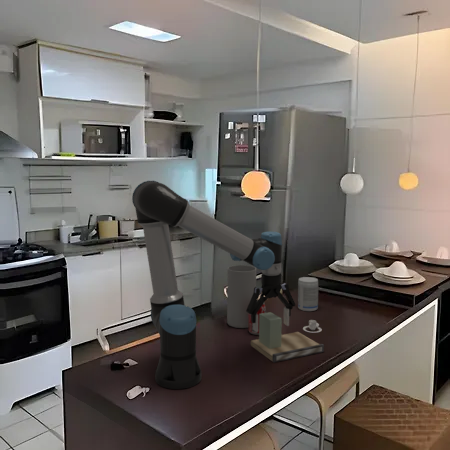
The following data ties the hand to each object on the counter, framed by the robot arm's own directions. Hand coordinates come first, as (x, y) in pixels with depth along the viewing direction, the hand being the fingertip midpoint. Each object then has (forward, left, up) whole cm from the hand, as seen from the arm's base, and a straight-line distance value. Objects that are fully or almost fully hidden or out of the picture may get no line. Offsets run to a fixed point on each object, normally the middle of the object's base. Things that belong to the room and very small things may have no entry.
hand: (271, 327), depth 178 cm
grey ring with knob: (+30, +9, -9) cm, 32 cm away
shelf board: (+6, -2, -8) cm, 10 cm away
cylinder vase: (+3, +29, -9) cm, 30 cm away
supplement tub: (+42, +34, -9) cm, 55 cm away
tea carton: (0, 0, -6) cm, 6 cm away
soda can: (+4, +17, -9) cm, 20 cm away
